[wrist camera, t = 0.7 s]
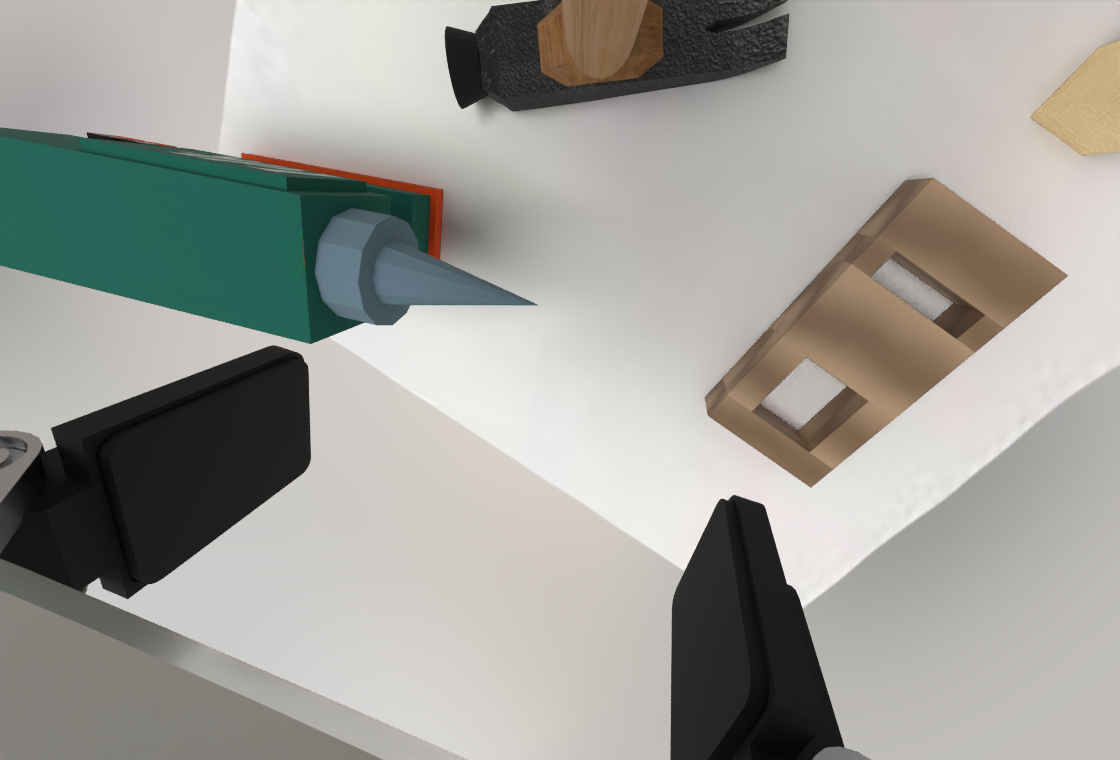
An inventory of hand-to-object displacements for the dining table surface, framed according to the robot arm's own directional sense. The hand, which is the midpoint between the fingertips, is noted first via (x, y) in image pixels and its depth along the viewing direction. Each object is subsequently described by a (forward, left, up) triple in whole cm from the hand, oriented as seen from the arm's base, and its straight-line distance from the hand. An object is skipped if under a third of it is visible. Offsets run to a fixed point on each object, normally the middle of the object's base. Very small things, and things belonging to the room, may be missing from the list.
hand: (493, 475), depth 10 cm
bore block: (-5, +17, -29) cm, 34 cm away
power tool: (+7, -17, -29) cm, 35 cm away
